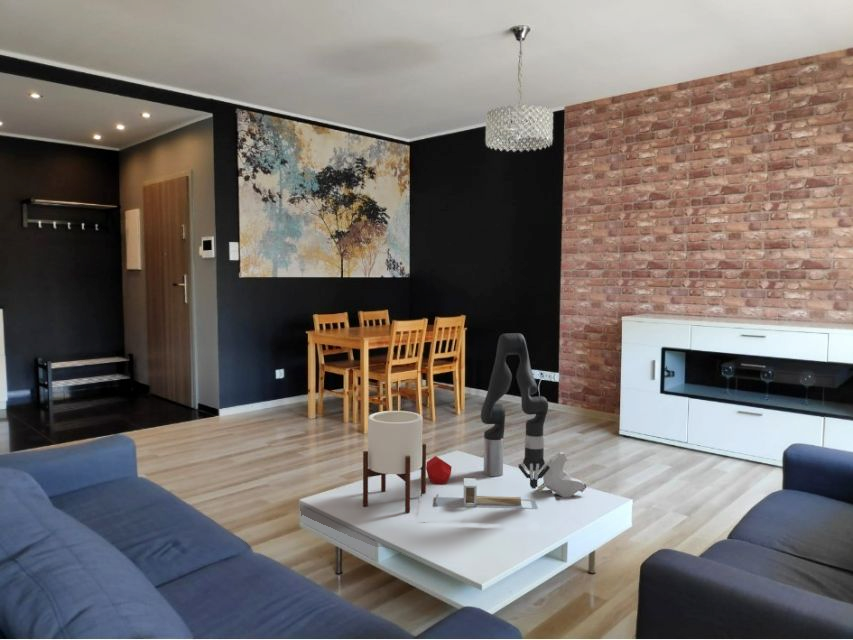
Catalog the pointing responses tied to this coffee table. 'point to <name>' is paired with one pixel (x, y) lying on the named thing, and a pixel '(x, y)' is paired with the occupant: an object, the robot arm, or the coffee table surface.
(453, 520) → the coffee table surface
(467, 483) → the grey pocketed tray
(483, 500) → the beech dowel
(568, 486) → the grey crescent shape
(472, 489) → the walnut block
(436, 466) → the apple
